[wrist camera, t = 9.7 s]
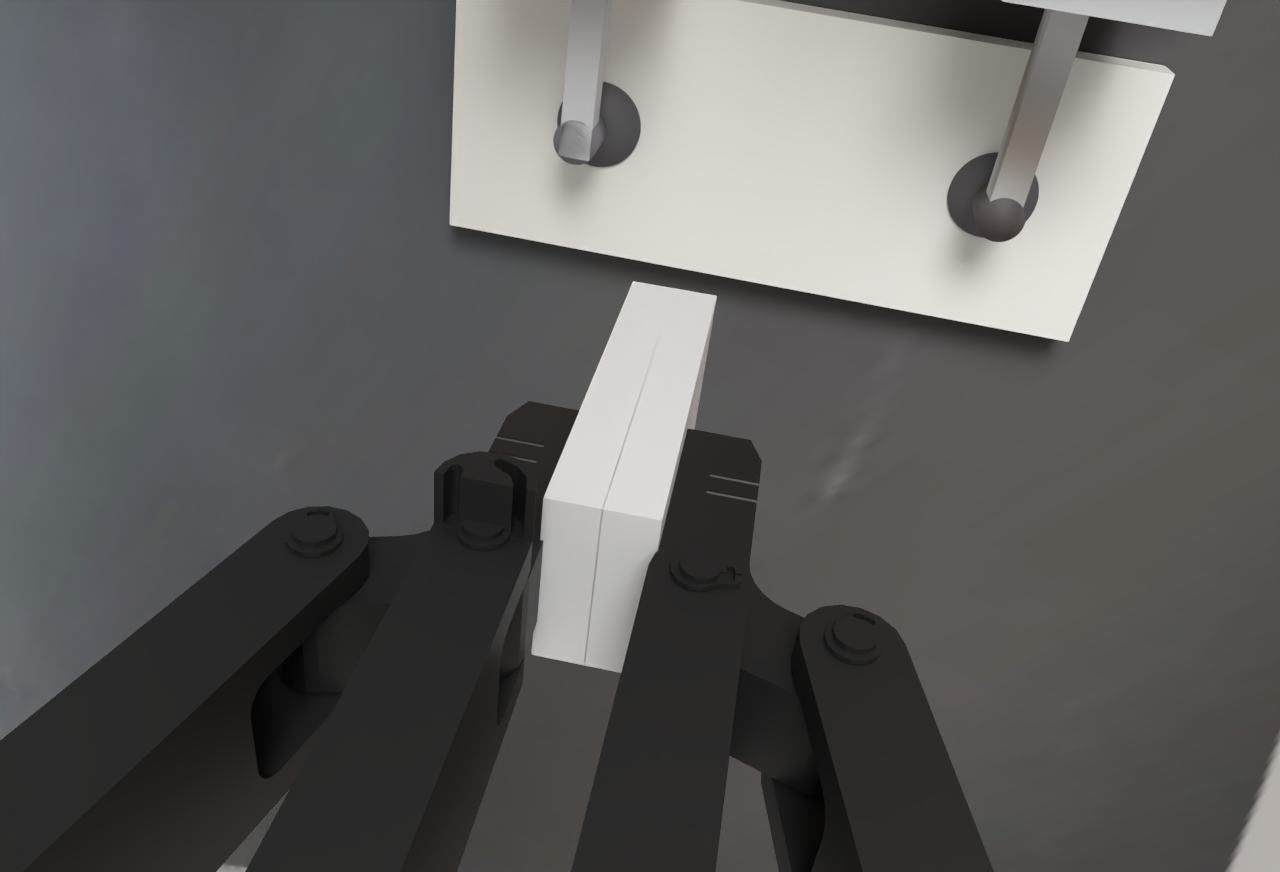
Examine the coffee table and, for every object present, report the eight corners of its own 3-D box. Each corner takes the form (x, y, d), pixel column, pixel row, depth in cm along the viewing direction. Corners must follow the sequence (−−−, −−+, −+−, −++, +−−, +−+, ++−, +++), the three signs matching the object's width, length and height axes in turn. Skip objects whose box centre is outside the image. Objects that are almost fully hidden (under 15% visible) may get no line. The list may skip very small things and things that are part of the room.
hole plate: (469, -53, 33) (456, -47, 32) (1164, 65, 32) (1176, 75, 31) (459, 213, 38) (448, 225, 37) (1062, 326, 37) (1069, 343, 36)
